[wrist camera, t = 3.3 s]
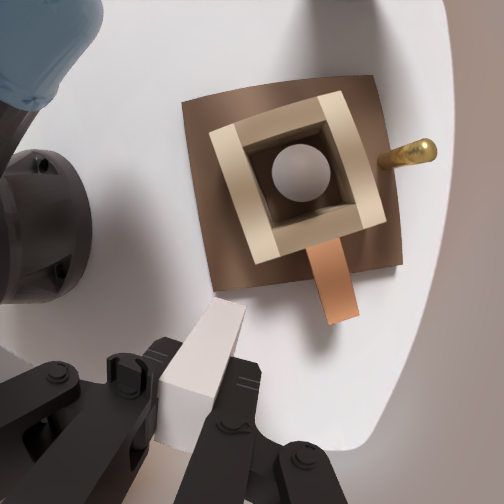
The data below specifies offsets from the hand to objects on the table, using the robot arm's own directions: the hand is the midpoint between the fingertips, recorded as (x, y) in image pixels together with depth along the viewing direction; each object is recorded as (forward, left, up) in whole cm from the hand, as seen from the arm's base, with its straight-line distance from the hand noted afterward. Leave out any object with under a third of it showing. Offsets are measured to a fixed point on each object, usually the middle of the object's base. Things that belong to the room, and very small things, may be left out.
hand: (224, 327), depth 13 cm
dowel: (+11, +7, -8) cm, 16 cm away
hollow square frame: (+5, +4, -8) cm, 10 cm away
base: (+5, +6, -10) cm, 12 cm away
